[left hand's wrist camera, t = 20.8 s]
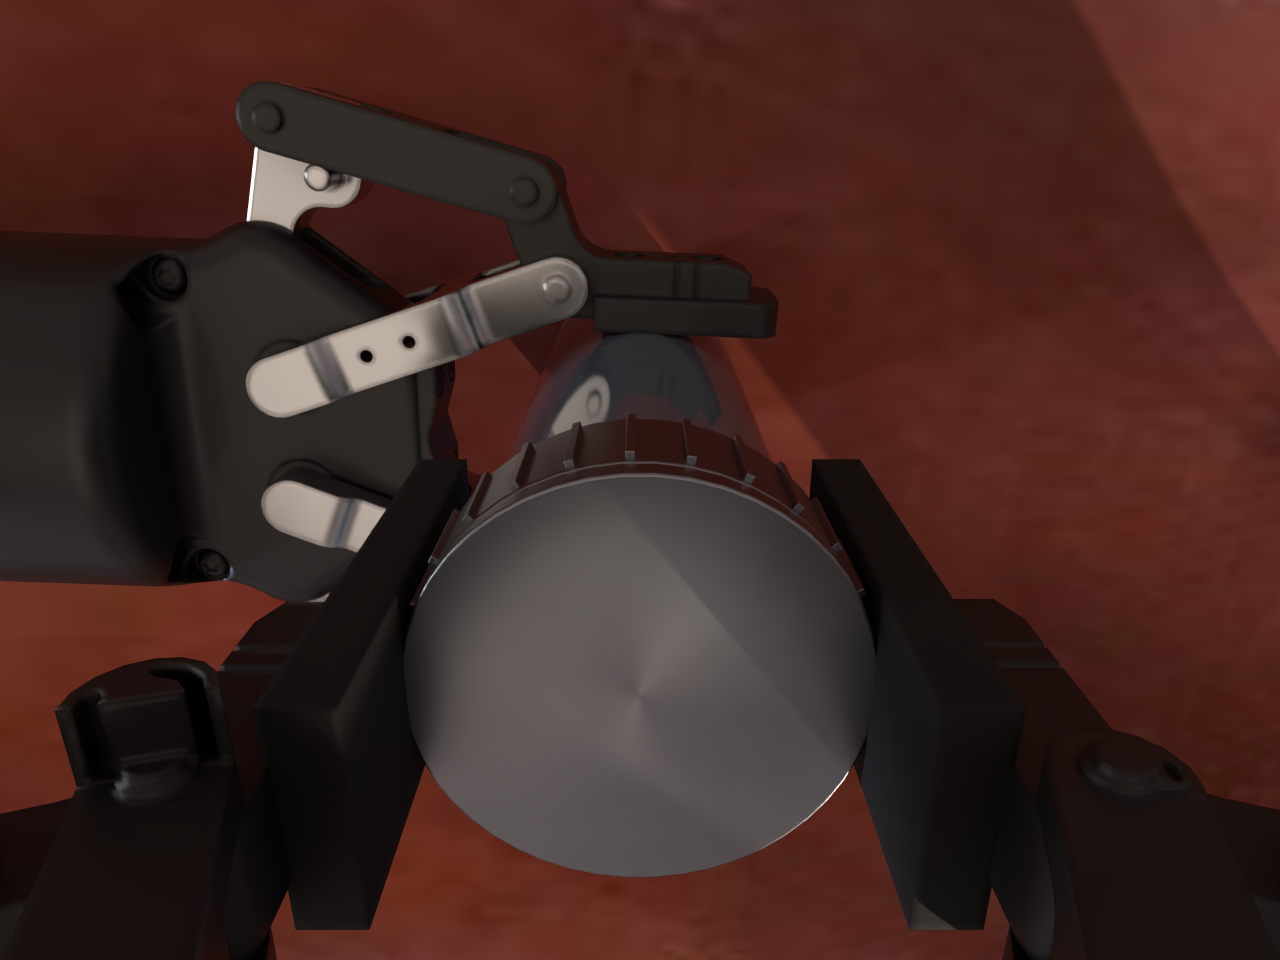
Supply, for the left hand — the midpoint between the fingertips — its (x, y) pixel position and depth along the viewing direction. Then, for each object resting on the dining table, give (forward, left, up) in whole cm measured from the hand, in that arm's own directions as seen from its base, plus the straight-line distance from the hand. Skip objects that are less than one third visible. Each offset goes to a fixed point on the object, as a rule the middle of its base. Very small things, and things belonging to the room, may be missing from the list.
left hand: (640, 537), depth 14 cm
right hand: (-3, -1, -5) cm, 6 cm away
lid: (0, 0, +4) cm, 4 cm away
